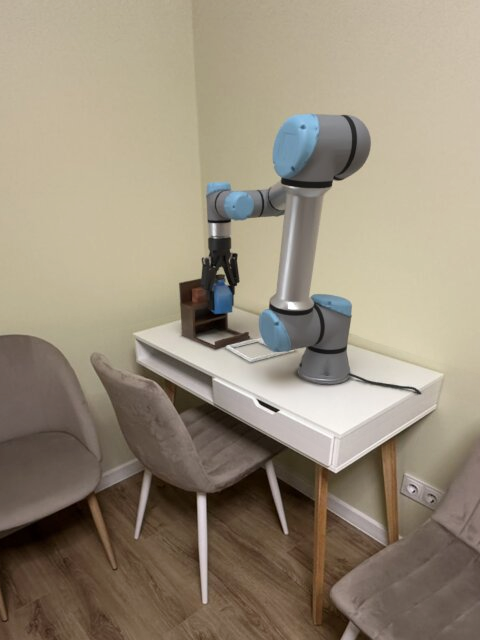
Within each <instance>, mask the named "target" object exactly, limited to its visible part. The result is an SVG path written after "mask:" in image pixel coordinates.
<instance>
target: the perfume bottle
mask: <svg viewBox="0 0 480 640" xmlns="http://www.w3.org/2000/svg"><path fill="white" fill-rule="evenodd" d="M226 280H227V278H226V275H225V273H224V274H223V273H222V274H221V273H218V274H216V279H215V282H216V284H215V285H213V288H212V290H213V291H214V306H215V310H214V311H212V310H211V311H212V312H213V313H214V314H222V313H228V314H230V313H233V306H232V293H231V291H230V289H229V287H228V286H227V285H228V284H226Z"/></svg>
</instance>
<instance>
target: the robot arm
mask: <svg viewBox="0 0 480 640" xmlns="http://www.w3.org/2000/svg"><path fill="white" fill-rule="evenodd" d="M371 146H372V140H371V133H370V131H369V128H368V127H367V125H366V124H365V123H364V121H362V120H361V119H360V118H358V117H357V116H354V115H352V114H351V115H350V114H324V113H323V114H322V113H321V114H319V113H311V112H309V113H302V114H295V115H292V116H289V117H288V118H286V120H285V121H284V122H283V123H282V125H281V126H280V128H279V129H278V131H277V134H276V136H275V139H274V142H273V147H272V163H273V164H274V165H273V170H274V172H275V173H276V174H277V176H279V177H280V180H279V181H277V182H276V183H274V184H273V185H271V186H269V188H266V189H250V190H249V189H247V190H246V189H245V190H232V186H231V183H230V182H228V181H214V182H213V181H212V182H208V183H207V185H206V195H205V198H206V218H207V236H208V238H207V249H208V252H209V253H208V256H205V257H203V256H202V257H201V264H202V266H201V277H200V278H201V289H204V290H206V300H208V309H209V310H212V311H214V310H215V306H214V291H213V290H212V288H213V285H214V281H215V278H216V275H217V273H218V271H220V268H222V270H223V272H224V275H225V279H226V280H227V283H228V284H226V285H227V286H228V287H229V289H230V291H231V293H232V307H233V306H234V305H235V300H234V299H235V298H234V297H235V294H236V287H237V286H238V284H239V283H240V273H239V272H240V271H239V265H238V264H239V263H238V257H239V254H238V253H236V252H231V249H232V237H231V236H232V220H233V221H236V222H237V221H246V220H247V219H257V218H270V217H271V218H272V217H274V218H275V217H277V218H278V217H281V216H283V223H282V234H281V244H280V253H279V263H278V272H277V282H276V290H275V291H276V292H275V293H274V294H273V295H272V296H270V298H269V302H268V303H269V304H268V308H267V309H264V310H263V311H262V312H260V314H259V317H258V330H259V333H260V336H261V337H260V338H262V339H263V341H264V343H265V345H266V347H267V348H268V349H269V351H271V352H272V353H275V352H284V351H285V352H288V351H290V350H294V349H295V350H298V349H304V348H305V350H304V353H303V354H302V356H301V359H300V362H299V364H298V367H297V374H298V376H299V377H300V378H301V379H303V381H307V382H308V383H312V384H317V385H338V384H341V383H344V382H346V381H348V380H349V378H350V377H352V378H355V379H357V380H360V381H362V382H365V383H368V384H370V385H376V386H377V385H378V386H383V387H391V388H397V389H403V390H404V389H405V390H412V391H414V392H416V393H417V394H418V395H422V392H421V391H420V390H419V389H418V388H416V387H414V386H409V385H398V384H393V383H385V382H378V381H374V380H369V379H367V378H364V377H362V376H358V375H356V374H353V373H351V367H350V362H349V357H348V352H347V350H348V345H349V344H348V342H349V336H350V329H351V323H352V322H351V321H352V316H353V315H352V313H353V311H352V310H353V309H352V308H353V304H352V302H351V301H350V300H349V299H347V298H345V297H342V296H339V295H334V294H327V293H326V294H325V293H315V294H312V295H311V287H312V279H313V274H314V273H313V272H314V265H315V259H316V251H317V245H318V238H319V232H320V225H321V217H322V211H323V205H324V204H323V203H324V196H325V195H326V193H328V192H329V191H330V190H331V189H332V188H333V182H334V181H335V182H342V181H343V180H345V179H348V178H349V177H350V176H353V175H354V174H356V173H357V172H359V170H361V168H363V166H364V165H365V163H366V162H367V160H368V158H369V156H370V152H371ZM310 295H311V296H310ZM265 345H264V346H265Z"/></svg>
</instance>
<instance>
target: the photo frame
mask: <svg viewBox="0 0 480 640" xmlns="http://www.w3.org/2000/svg"><path fill="white" fill-rule="evenodd" d="M253 343H260V344H261V345H264V346H266V345H265V343H264V341H263V339H262V337H257V338H253V339H248V340H244V341H241V342H237V343H234V344H231V345H227V346H225V349H227V350H229V351H230V352H232V353H233V354H236V355H237V356H238V357H241V358H243V359H244V360H245V361H248V362H249V363H253V362H257V361H261V360H265V359H269V358H273V357H276V356H277V357H278V356H281V355H284V354H288V353H292V352H295V351H296V349H294V350H290V351H288V352H285V351H284V352H271V353H268V354H264V355H259V356H255V357H250V356H248V355H246V354H244V353H242V352H241V351H239V350H237V349H235V348H238V347H241V346H247V345H251V344H253ZM266 347H267V346H266Z"/></svg>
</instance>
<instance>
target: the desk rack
mask: <svg viewBox="0 0 480 640" xmlns="http://www.w3.org/2000/svg"><path fill="white" fill-rule="evenodd" d="M215 279H216V278H215ZM215 284H216V282H215V281H214V285H215ZM178 289H179V306H180V307H179V308H180V309H179V310H180V325H181V336H182V337H184V338H186V339H189V340H191V341H194V342H196V343H198V344H200V345H203V346H205V347H208V348H210V349H213V350H218V349H219V350H220V349H222V348H226V346H227V345H232V344H236V343H240V342H245V341H248V340H251V336H250V332H249V331H244V332H240V331H237V330H236V329H232V328H229V320H228V318H229V315H228V314H229V313H222V314H214V313H213V312H212V311H211V310H209V309H208V300H206V290H204V289H201V277H200V278H195V279H190V280H186V281H181V282H178ZM213 328H217V329H220V330H222V331H225V332H228V333H230V334H233V335H231V336H228V337H225V338H222V339H219V340H216V341H214V344H213V343H211V342H208V341H206V340H203V339H201V338H199V337H197V335H196V333H199V332H202V331H203V332H204V331H207V330H210V329H213Z"/></svg>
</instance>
